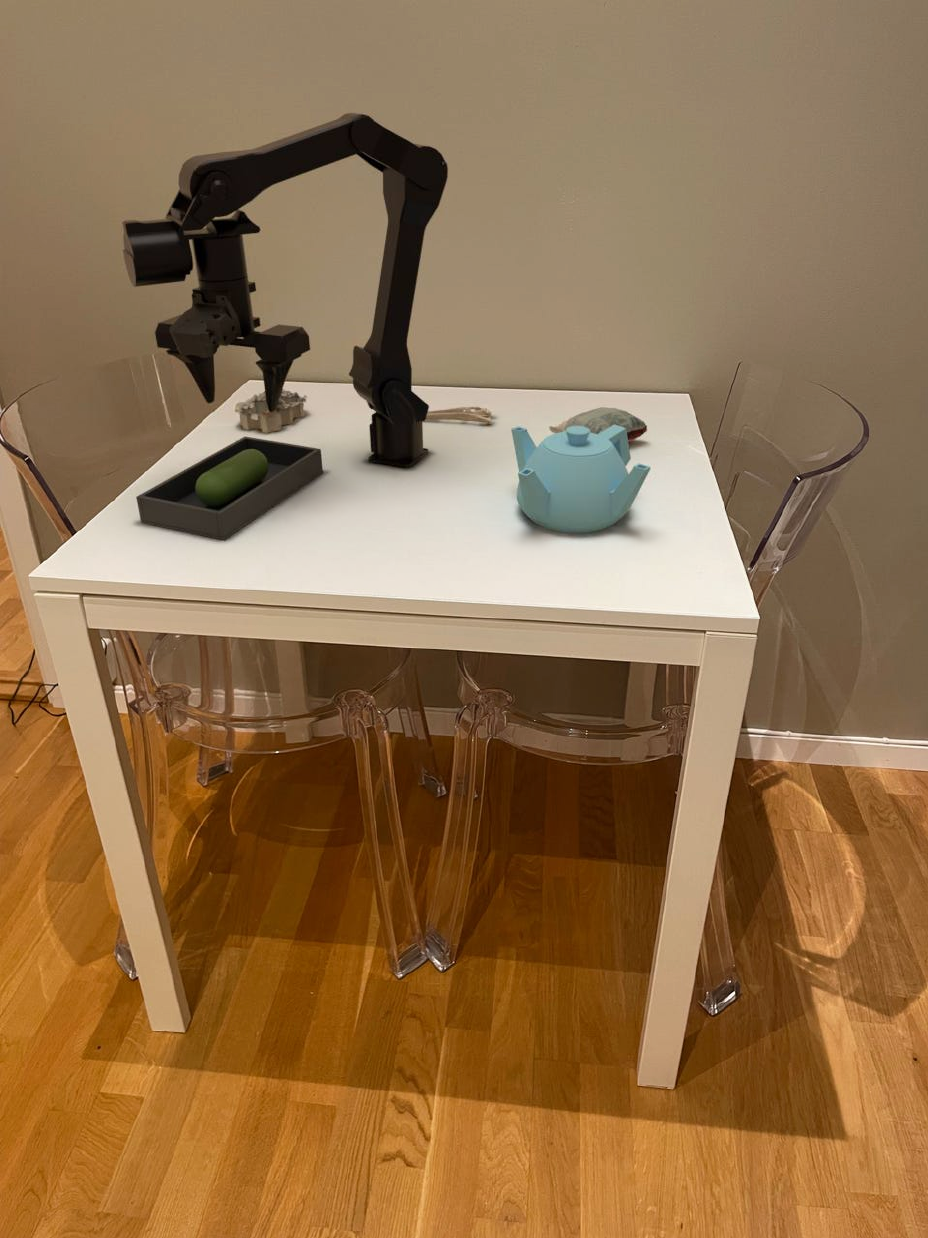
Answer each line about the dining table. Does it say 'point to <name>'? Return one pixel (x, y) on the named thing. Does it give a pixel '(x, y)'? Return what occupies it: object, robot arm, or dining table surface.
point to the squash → (231, 477)
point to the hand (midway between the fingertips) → (241, 406)
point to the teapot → (576, 478)
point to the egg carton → (259, 416)
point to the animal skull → (461, 414)
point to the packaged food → (605, 422)
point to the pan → (186, 513)
